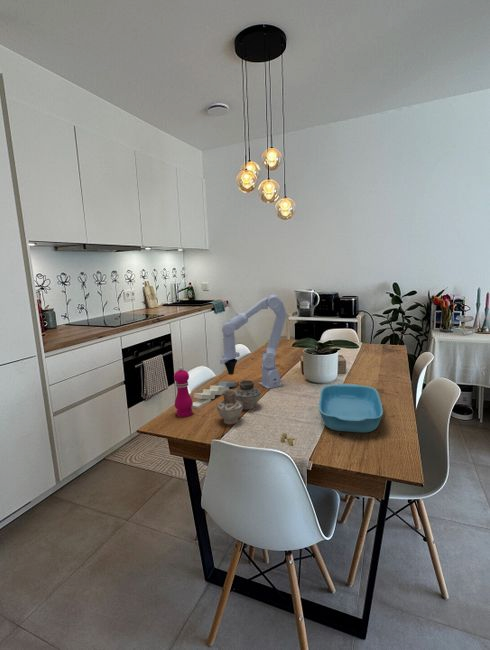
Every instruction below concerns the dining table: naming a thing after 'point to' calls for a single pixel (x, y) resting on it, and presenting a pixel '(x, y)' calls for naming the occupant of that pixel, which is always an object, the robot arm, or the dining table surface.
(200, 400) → the ivory tile
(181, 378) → the pepper mill
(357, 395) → the casserole dish
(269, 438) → the dining table surface
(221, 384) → the slate tile
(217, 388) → the ivory tile
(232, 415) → the pottery
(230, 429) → the dining table surface
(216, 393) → the tile
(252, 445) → the dining table surface
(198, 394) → the ivory tile
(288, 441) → the olive bow shape
